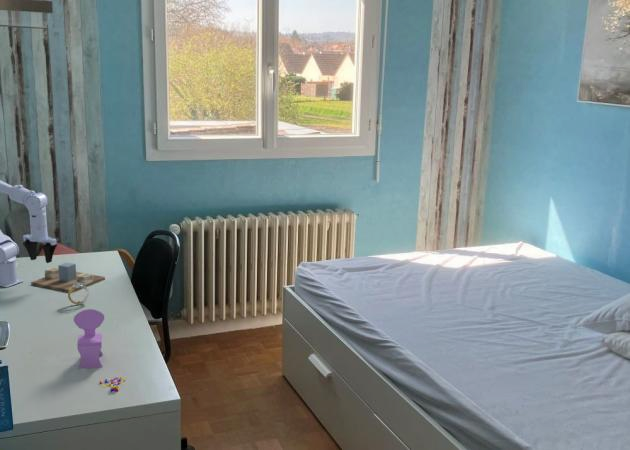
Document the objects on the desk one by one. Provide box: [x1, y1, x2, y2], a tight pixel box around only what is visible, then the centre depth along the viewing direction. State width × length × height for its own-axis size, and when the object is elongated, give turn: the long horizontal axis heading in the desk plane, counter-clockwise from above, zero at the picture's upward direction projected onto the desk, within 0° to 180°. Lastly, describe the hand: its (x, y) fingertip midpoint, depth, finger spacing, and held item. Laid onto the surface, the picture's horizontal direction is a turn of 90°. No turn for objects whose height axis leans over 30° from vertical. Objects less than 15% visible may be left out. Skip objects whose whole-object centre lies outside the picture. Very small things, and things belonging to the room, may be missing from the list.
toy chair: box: [73, 308, 105, 370], centre depth 188 cm, size 8×9×15 cm
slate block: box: [57, 262, 77, 282], centre depth 256 cm, size 4×4×6 cm
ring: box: [67, 282, 90, 306], centre depth 233 cm, size 7×3×8 cm, turn 110°
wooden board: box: [30, 266, 106, 294], centre depth 257 cm, size 20×18×4 cm
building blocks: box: [99, 376, 126, 393], centre depth 177 cm, size 6×8×2 cm
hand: (41, 260), depth 250 cm, fingers open, 7 cm apart
